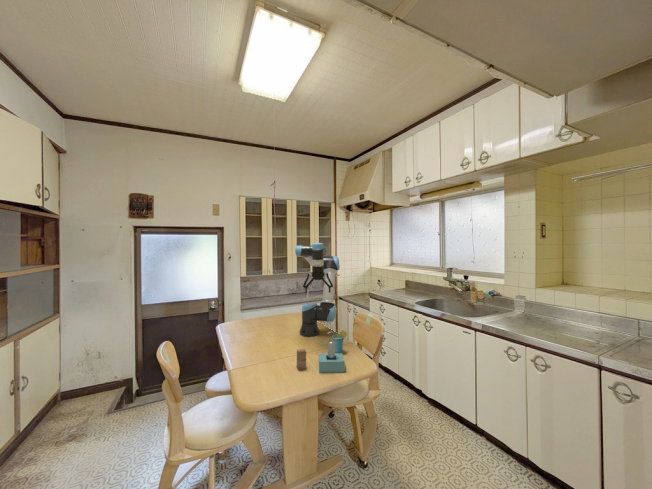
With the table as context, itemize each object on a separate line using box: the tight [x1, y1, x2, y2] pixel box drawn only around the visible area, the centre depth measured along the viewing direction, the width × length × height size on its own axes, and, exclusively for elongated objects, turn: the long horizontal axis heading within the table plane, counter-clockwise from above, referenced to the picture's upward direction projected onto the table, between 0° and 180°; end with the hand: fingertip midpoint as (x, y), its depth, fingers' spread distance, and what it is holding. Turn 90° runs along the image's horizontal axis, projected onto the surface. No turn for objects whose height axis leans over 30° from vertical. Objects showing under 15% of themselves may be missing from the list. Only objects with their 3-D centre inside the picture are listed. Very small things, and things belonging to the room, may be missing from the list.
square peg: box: [296, 348, 307, 371], centre depth 143 cm, size 4×4×10 cm
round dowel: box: [327, 339, 335, 360], centre depth 143 cm, size 4×4×15 cm
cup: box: [326, 330, 348, 354], centre depth 163 cm, size 14×8×15 cm, turn 119°
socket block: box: [318, 352, 346, 374], centre depth 143 cm, size 10×14×6 cm
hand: (317, 297), depth 168 cm, fingers open, 13 cm apart
